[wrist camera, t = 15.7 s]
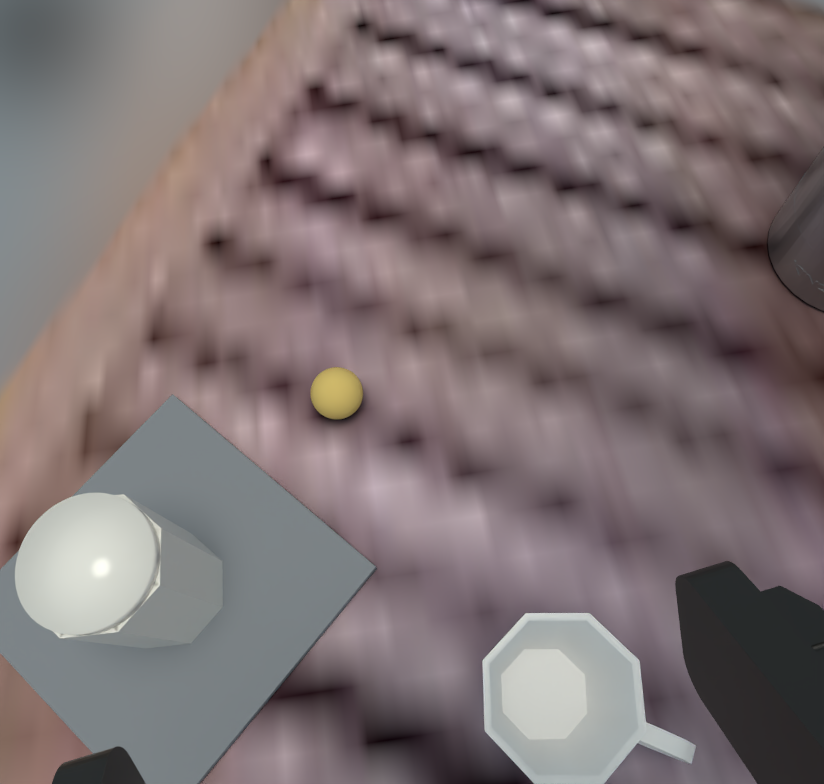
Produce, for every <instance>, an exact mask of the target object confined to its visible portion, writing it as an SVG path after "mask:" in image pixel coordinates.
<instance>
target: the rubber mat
mask: <svg viewBox="0 0 824 784" xmlns="http://www.w3.org/2000/svg"><path fill="white" fill-rule="evenodd" d="M85 493H107V494H111V495H122V494H124V495H126V496H128V497H129V498H131V499H133V500H135V501H136V502H138V503H140V504H141V505H143V506H145V507H147V508H148V509H150V510H152V511H154V512H155V513H157V514H159V515H160V516H162V517H164V518H166V519H167V520H169V521H171V522H172V523H174V524H176V525H178V526H179V527H181V528H183V529H185V530H186V531H188V532H190V533H191V534H193V535H194V536H195V537H196V538H197V539H198V540H199V541H200V542H202V543H203V544H204V545H205V546H206V547H207V548H208V549H209V550H210V551H212V552H213V553H214V554H215V555H216V556H217V557H218V558H219V559H220V560H222V569H223V607H222V608H221V609H220V610H219V612H218V613H217V614H216V615H215V616H214V617H213V619H212V620H211V621H210V622H209V623H208V624H207V626H206V627H205V628H204V629H203V630H202V631H201V632H200V634H199V635H198V636H197V637H196V638H195V639H194V641H193V642H192V643H191V644H183V645H173V646H164V647H155V648H146V649H145V648H137V647H128V646H120V645H111V644H103V643H94V642H86V641H77V640H69V639H60V638H59V637H58V636H57V635H56V634H55V633H54V632H53V631H51V630H48V629H46V628H44V627H43V626H41V625H39V624H38V623H37V622H35V621H34V620H33V619H32V618H31V617H30V616H29V615H28V613H27V612H26V611H25V609H24V608H23V606H22V604H21V602H20V600H19V597H18V594H17V590H16V585H15V566H16V560H17V556H18V553H19V551H18V552H17V553H16V554H15V555H14V556H13V557H12V558H11V559H10V560H9V561H8V562H7V563H6V564H5V565H4V566H3V567H2V568H1V569H0V653H1V654H2V655H3V656H4V657H5V659H6V660H7V661H8V662H9V663H10V664H11V665H12V666H13V667H14V668H15V669H16V670H17V672H18V673H19V674H20V675H21V676H22V677H23V678H24V679H25V680H26V681H27V682H28V683H29V685H30V686H31V687H32V688H33V689H34V690H35V691H36V692H37V693H38V694H39V695H40V696H41V698H42V699H43V700H44V701H45V702H46V703H47V704H48V705H49V706H50V707H51V708H52V709H53V711H54V712H55V713H56V714H57V715H58V716H59V717H60V718H61V719H62V720H63V721H64V722H65V724H66V725H67V726H68V727H69V728H70V729H71V730H72V731H73V732H74V733H75V734H76V735H77V737H78V738H79V739H80V740H81V741H82V742H83V743H84V744H85V745H86V746H87V747H88V748H89V750H90V751H91V752H92V753H93V754H94V753H97V752H101V751H104V750H107V749H110V748H114V747H117V746H120V747H122V748H124V749H125V750H126V751H127V752H128V754H129V755H130V757H131V759H132V761H133V762H134V764H135V766H136V768H137V769H138V771H139V773H140V774H141V776H142V778H143V780H144V781H145V783H146V784H200V783H201V782H202V780H203V779H204V778H205V777H206V776H207V774H208V773H209V772H210V771H211V770H212V768H213V767H214V766H215V765H216V763H217V762H218V761H219V760H220V759H221V757H222V756H223V755H224V754H225V753H226V751H227V750H228V749H229V748H230V746H231V745H232V744H233V743H234V742H235V740H236V739H237V738H238V737H239V735H240V734H241V733H242V732H243V731H244V729H245V728H246V727H247V726H248V725H249V723H250V722H251V721H252V720H253V718H254V717H255V716H256V715H257V714H258V712H259V711H260V710H261V709H262V708H263V706H264V705H265V704H266V703H267V701H268V700H269V699H270V698H271V697H272V695H273V694H274V693H275V692H276V690H277V689H278V688H279V687H280V686H281V684H282V683H283V682H284V681H285V680H286V678H287V677H288V676H289V675H290V673H291V672H292V671H293V670H294V669H295V667H296V666H297V665H298V664H299V663H300V661H301V660H302V659H303V658H304V656H305V655H306V654H307V653H308V652H309V650H310V649H311V648H312V647H313V645H314V644H315V643H316V642H317V641H318V639H319V638H320V637H321V636H322V635H323V633H324V632H325V631H326V630H327V628H328V627H329V626H330V625H331V624H332V622H333V621H334V620H335V619H336V618H337V616H338V615H339V614H340V613H341V611H342V610H343V609H344V608H345V607H346V605H347V604H348V603H349V602H350V600H351V599H352V598H353V597H354V596H355V594H356V593H357V592H358V591H359V590H360V588H361V587H362V586H363V585H364V583H365V582H366V581H367V580H368V579H369V577H370V576H371V575H372V574H373V573H374V571H375V570H376V569H377V568H376V567H375V566H374V565H373V564H372V563H371V562H370V561H368V560H367V559H366V558H365V557H364V556H362V555H361V554H360V553H359V552H358V551H357V550H355V549H354V548H353V547H352V546H351V545H350V544H348V543H347V542H346V541H345V540H344V539H342V538H341V537H340V536H339V535H338V534H337V533H335V532H334V531H333V530H332V529H331V528H329V527H328V526H327V525H326V524H325V523H324V522H322V521H321V520H320V519H319V518H318V517H317V516H315V515H314V514H313V513H312V512H311V511H309V510H308V509H307V508H306V507H305V506H304V505H302V504H301V503H300V502H299V501H298V500H296V499H295V498H294V497H293V496H292V495H291V494H289V493H288V492H287V491H286V490H285V489H284V488H282V487H281V486H280V485H279V484H278V483H276V482H275V481H274V480H273V479H272V478H271V477H269V476H268V475H267V474H266V473H265V472H264V471H262V470H261V469H260V468H259V467H258V466H256V465H255V464H254V463H253V462H252V461H251V460H249V459H248V458H247V457H246V456H245V455H243V454H242V453H241V452H240V451H239V450H238V449H236V448H235V447H234V446H233V445H232V444H231V443H229V442H228V441H227V440H226V439H225V438H223V437H222V436H221V435H220V434H219V433H218V432H216V431H215V430H214V429H213V428H212V427H210V426H209V425H208V424H207V423H206V422H205V421H203V420H202V419H201V418H200V417H199V416H198V415H196V414H195V413H194V412H193V411H192V410H190V409H189V408H188V407H187V406H186V405H185V404H183V403H182V402H181V401H180V400H179V399H178V398H176V397H175V396H174V395H172V396H171V397H170V398H169V399H168V400H167V401H166V402H165V403H164V404H163V405H162V406H161V407H160V408H159V409H158V410H157V411H156V412H155V413H154V414H153V415H152V416H151V417H150V418H149V419H148V420H147V421H146V422H145V423H144V424H143V425H142V426H141V427H140V428H139V429H138V430H137V431H136V432H135V433H134V434H133V435H132V436H131V437H130V438H129V439H128V440H127V441H126V442H125V443H124V444H123V445H122V446H121V447H120V448H119V449H118V450H117V451H116V452H115V453H114V455H113V456H112V457H111V458H110V459H109V460H108V461H107V462H106V463H105V464H104V465H103V466H102V467H101V468H100V469H99V470H98V471H97V472H96V473H95V474H94V475H93V476H92V477H91V478H90V479H89V480H88V481H87V482H86V483H85V484H84V485H83V486H82V487H81V488H80V489H79V490H78V491H77V492H76V493H75V494H74V495H73V496H76V495H80V494H85ZM73 496H72V497H73Z"/></svg>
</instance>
